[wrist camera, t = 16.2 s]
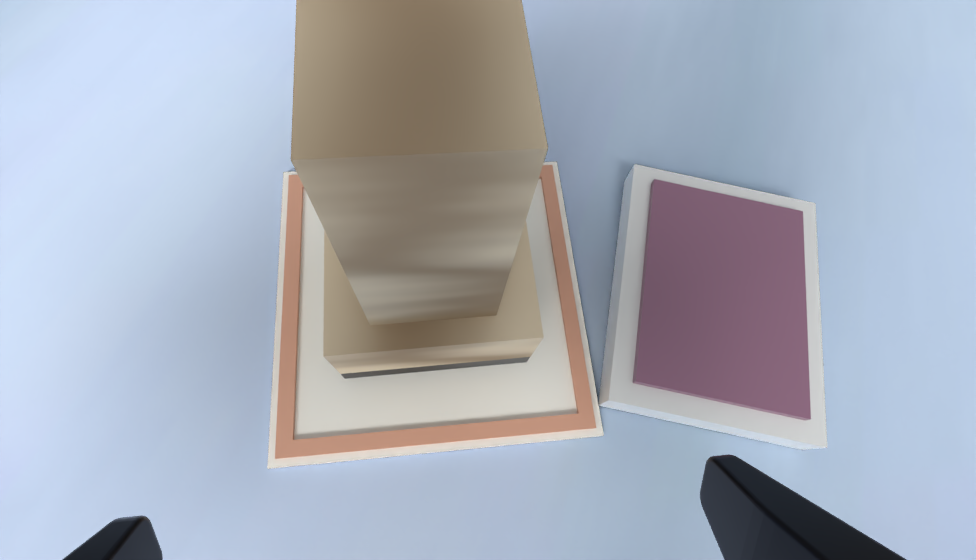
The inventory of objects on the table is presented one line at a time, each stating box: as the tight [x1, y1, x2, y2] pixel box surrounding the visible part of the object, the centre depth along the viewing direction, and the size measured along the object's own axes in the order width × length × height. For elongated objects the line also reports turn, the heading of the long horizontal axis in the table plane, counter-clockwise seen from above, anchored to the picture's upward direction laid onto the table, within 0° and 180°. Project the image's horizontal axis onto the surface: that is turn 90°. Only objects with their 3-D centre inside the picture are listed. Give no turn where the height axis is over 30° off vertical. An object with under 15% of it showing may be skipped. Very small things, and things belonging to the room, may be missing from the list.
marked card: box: [267, 162, 604, 469], centre depth 18 cm, size 10×10×1 cm
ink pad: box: [598, 164, 827, 450], centre depth 18 cm, size 9×7×2 cm
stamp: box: [291, 0, 548, 379], centre depth 13 cm, size 6×5×11 cm
